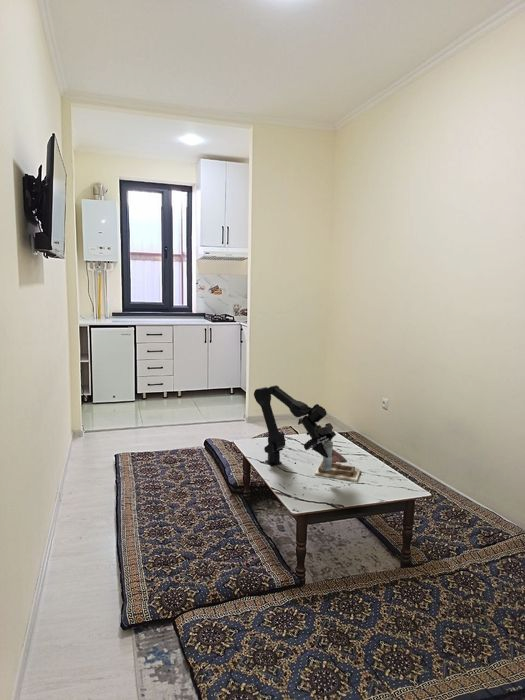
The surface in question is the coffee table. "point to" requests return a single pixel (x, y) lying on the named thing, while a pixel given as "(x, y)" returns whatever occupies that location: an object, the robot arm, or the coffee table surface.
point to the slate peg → (328, 461)
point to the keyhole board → (339, 472)
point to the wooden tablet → (337, 457)
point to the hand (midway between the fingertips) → (330, 456)
